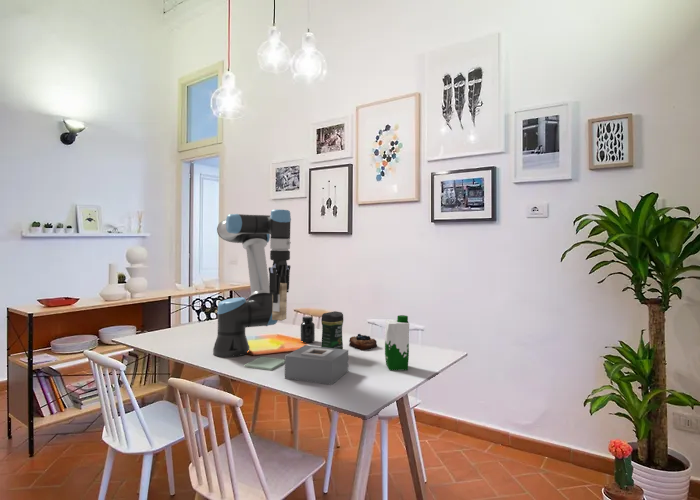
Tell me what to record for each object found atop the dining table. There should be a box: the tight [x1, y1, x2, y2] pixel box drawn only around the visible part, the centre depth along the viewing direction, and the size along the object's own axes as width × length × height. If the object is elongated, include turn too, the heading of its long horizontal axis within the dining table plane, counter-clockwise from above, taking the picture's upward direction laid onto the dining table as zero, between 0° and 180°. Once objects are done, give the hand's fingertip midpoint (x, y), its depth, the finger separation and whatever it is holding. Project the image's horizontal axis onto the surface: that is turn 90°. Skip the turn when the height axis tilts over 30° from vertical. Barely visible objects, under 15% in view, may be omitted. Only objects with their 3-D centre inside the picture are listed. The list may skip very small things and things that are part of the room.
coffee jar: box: [320, 310, 344, 349], centre depth 174 cm, size 10×8×19 cm
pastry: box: [348, 333, 378, 351], centre depth 189 cm, size 11×12×6 cm
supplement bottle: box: [300, 316, 316, 344], centre depth 197 cm, size 7×7×12 cm
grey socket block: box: [284, 344, 349, 386], centre depth 148 cm, size 18×16×8 cm
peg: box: [272, 283, 288, 321], centre depth 157 cm, size 4×4×14 cm
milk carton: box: [384, 314, 410, 371], centre depth 157 cm, size 9×9×20 cm
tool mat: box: [243, 356, 285, 371], centre depth 160 cm, size 12×12×1 cm
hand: (279, 309), depth 157 cm, fingers closed on peg, 4 cm apart
